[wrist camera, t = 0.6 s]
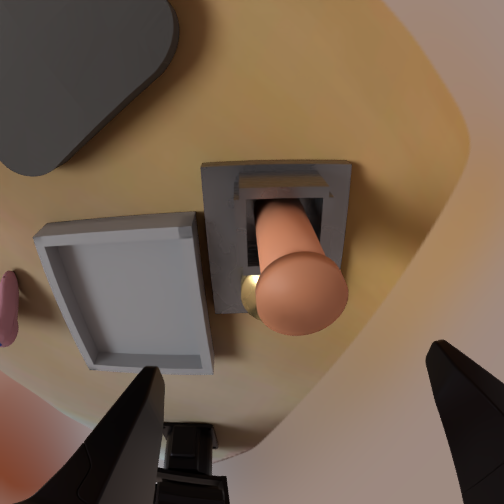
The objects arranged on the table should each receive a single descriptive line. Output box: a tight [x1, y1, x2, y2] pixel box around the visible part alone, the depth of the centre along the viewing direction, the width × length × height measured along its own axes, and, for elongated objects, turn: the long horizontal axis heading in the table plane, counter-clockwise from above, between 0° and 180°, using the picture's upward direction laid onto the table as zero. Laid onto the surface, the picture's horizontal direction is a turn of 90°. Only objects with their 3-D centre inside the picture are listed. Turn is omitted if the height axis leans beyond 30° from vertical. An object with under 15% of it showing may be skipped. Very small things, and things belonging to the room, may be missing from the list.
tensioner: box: [201, 160, 352, 321], centre depth 20 cm, size 11×9×4 cm
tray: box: [33, 211, 214, 375], centre depth 23 cm, size 14×12×2 cm
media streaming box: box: [0, 0, 179, 176], centre depth 13 cm, size 15×15×3 cm
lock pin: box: [254, 198, 348, 336], centre depth 16 cm, size 4×4×9 cm
